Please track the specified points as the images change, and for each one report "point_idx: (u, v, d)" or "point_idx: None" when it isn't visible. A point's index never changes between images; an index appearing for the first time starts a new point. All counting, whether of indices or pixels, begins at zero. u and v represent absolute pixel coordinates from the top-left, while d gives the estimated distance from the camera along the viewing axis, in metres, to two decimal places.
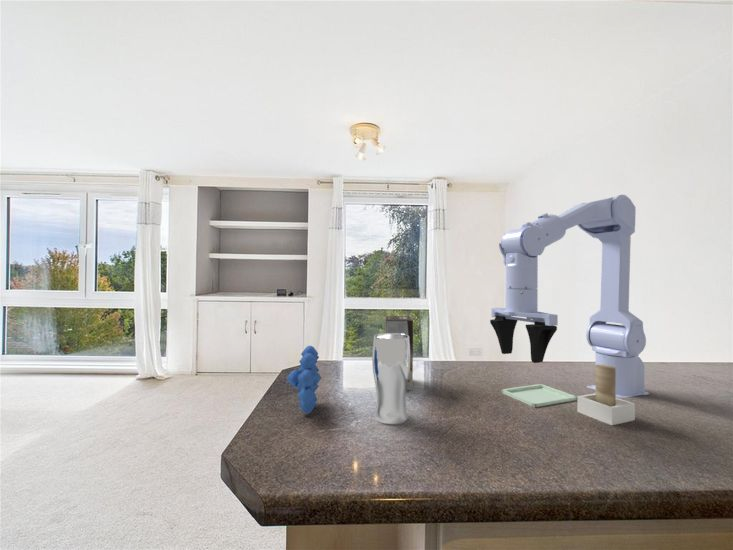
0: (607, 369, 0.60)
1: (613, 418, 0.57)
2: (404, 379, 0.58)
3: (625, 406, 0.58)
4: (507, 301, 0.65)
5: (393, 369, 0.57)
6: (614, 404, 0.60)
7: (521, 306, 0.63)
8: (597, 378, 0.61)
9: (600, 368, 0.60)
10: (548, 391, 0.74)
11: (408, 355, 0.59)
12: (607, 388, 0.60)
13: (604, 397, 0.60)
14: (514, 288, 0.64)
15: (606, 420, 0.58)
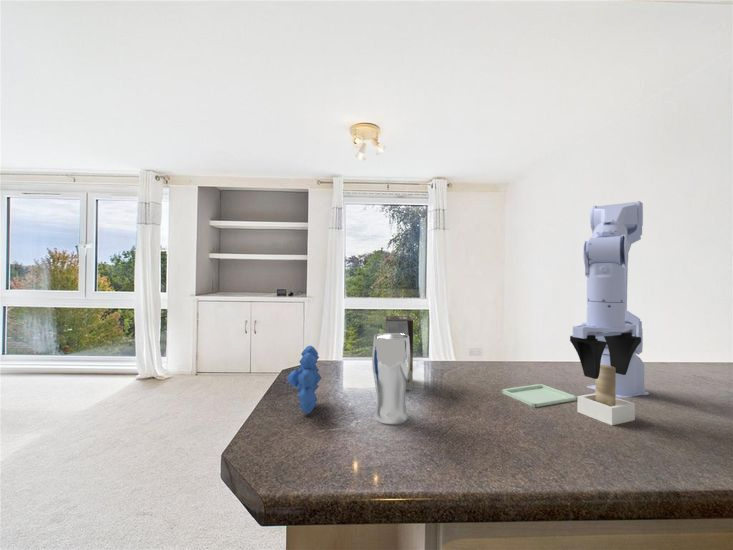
0: (607, 369, 0.60)
1: (613, 418, 0.57)
2: (404, 379, 0.58)
3: (625, 406, 0.58)
4: None
5: (393, 369, 0.57)
6: (614, 404, 0.60)
7: (587, 318, 0.62)
8: None
9: (600, 368, 0.60)
10: (548, 391, 0.74)
11: (408, 355, 0.59)
12: (607, 388, 0.60)
13: (604, 397, 0.60)
14: None
15: (606, 420, 0.58)
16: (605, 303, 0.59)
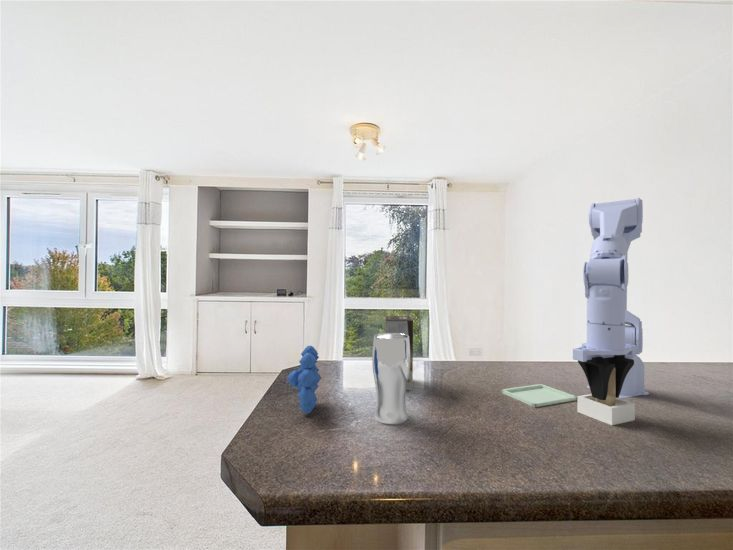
0: None
1: (613, 418, 0.57)
2: (404, 379, 0.58)
3: (625, 406, 0.58)
4: None
5: (393, 369, 0.57)
6: (614, 404, 0.60)
7: (587, 339, 0.62)
8: None
9: None
10: (548, 391, 0.74)
11: (408, 355, 0.59)
12: None
13: None
14: None
15: (606, 420, 0.58)
16: (605, 326, 0.59)
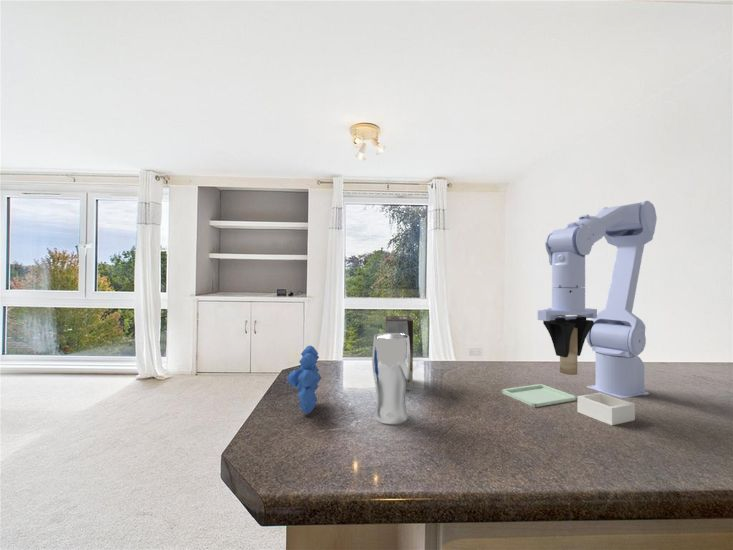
0: None
1: (613, 418, 0.57)
2: (404, 379, 0.58)
3: (625, 406, 0.58)
4: None
5: (393, 369, 0.57)
6: (576, 361, 0.65)
7: (552, 303, 0.67)
8: None
9: None
10: (548, 391, 0.74)
11: (408, 355, 0.59)
12: (570, 346, 0.65)
13: None
14: None
15: (606, 420, 0.58)
16: (567, 288, 0.64)
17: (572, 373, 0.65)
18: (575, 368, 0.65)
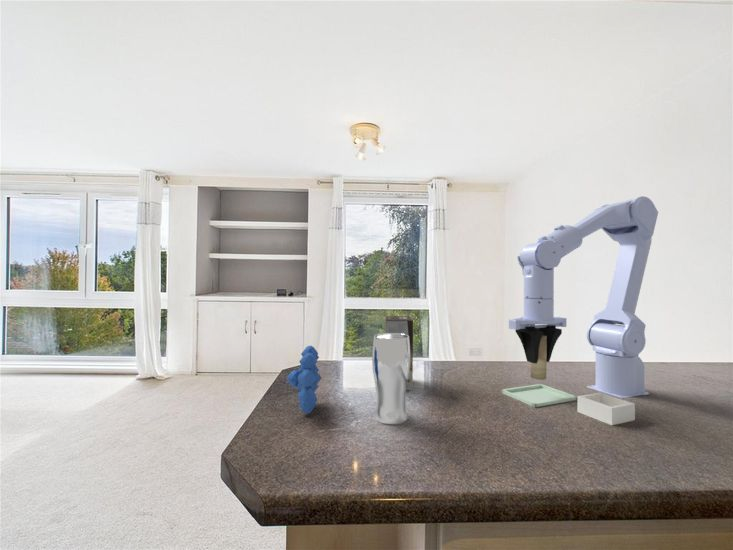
0: None
1: (613, 418, 0.57)
2: (404, 379, 0.58)
3: (625, 406, 0.58)
4: None
5: (393, 369, 0.57)
6: (545, 367, 0.70)
7: None
8: None
9: None
10: (548, 391, 0.74)
11: (408, 355, 0.59)
12: (539, 353, 0.70)
13: (537, 361, 0.70)
14: None
15: (606, 420, 0.58)
16: (536, 299, 0.69)
17: (541, 378, 0.69)
18: (544, 373, 0.70)
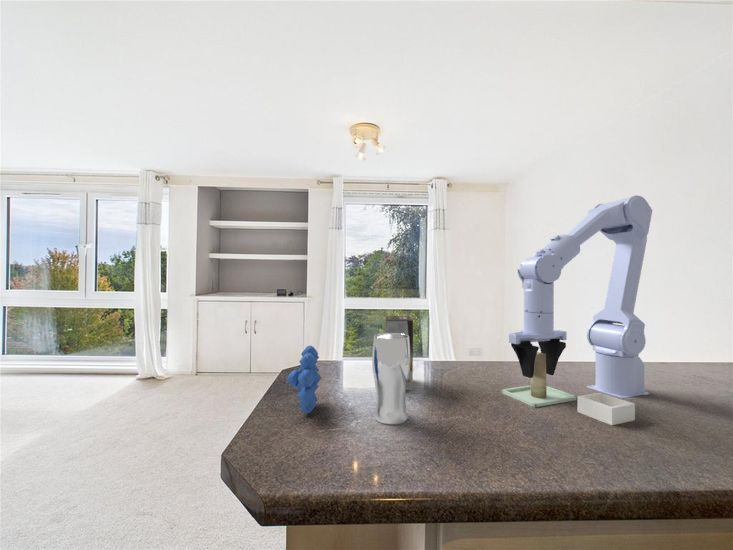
0: (538, 355, 0.70)
1: (613, 418, 0.57)
2: (404, 379, 0.58)
3: (625, 406, 0.58)
4: None
5: (393, 369, 0.57)
6: (545, 385, 0.70)
7: None
8: None
9: None
10: (548, 391, 0.74)
11: (408, 355, 0.59)
12: (539, 371, 0.70)
13: (537, 379, 0.70)
14: None
15: (606, 420, 0.58)
16: (536, 314, 0.69)
17: (541, 396, 0.69)
18: (544, 392, 0.70)
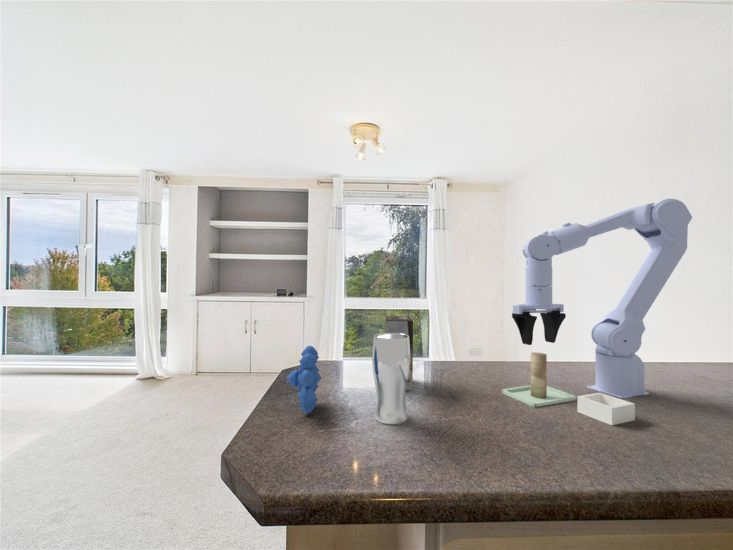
0: (539, 356, 0.70)
1: (613, 418, 0.57)
2: (404, 379, 0.58)
3: (625, 406, 0.58)
4: None
5: (393, 369, 0.57)
6: (545, 386, 0.70)
7: None
8: (531, 364, 0.71)
9: (534, 355, 0.70)
10: (548, 391, 0.74)
11: (408, 355, 0.59)
12: (539, 372, 0.70)
13: (537, 380, 0.70)
14: None
15: (606, 420, 0.58)
16: (537, 287, 0.77)
17: (541, 397, 0.69)
18: (544, 392, 0.70)
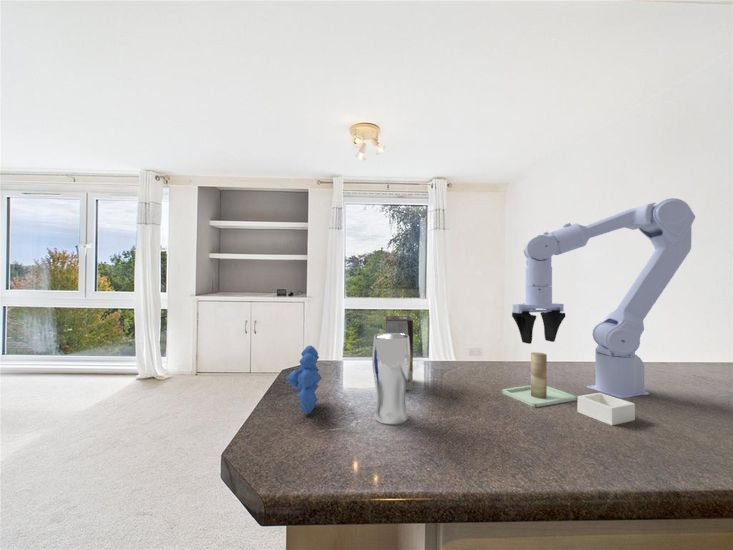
0: (539, 356, 0.70)
1: (613, 418, 0.57)
2: (404, 379, 0.58)
3: (625, 406, 0.58)
4: None
5: (393, 369, 0.57)
6: (545, 386, 0.70)
7: None
8: (532, 364, 0.71)
9: (534, 355, 0.70)
10: (548, 391, 0.74)
11: (408, 355, 0.59)
12: (539, 372, 0.70)
13: (537, 380, 0.70)
14: None
15: (606, 420, 0.58)
16: (536, 287, 0.78)
17: (541, 397, 0.69)
18: (544, 392, 0.70)
